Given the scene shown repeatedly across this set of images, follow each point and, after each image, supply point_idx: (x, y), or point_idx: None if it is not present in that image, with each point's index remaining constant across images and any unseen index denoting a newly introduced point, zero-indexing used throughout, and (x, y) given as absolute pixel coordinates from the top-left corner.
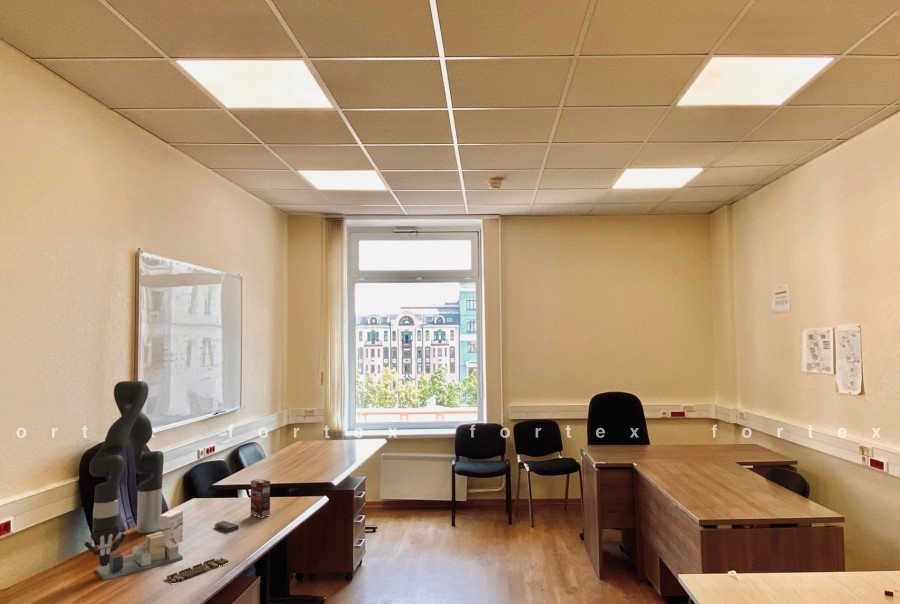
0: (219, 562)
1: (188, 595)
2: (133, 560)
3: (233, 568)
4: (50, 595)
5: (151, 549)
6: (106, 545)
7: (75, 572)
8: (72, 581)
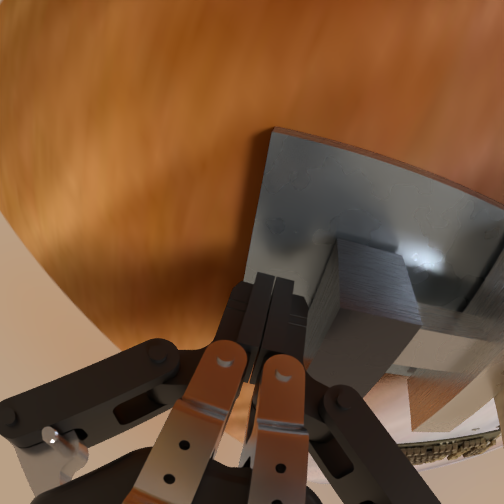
0: (466, 455)
1: (312, 480)
2: (489, 259)
3: (450, 463)
4: (51, 271)
5: (499, 401)
6: (243, 459)
7: (162, 27)
8: (114, 195)
